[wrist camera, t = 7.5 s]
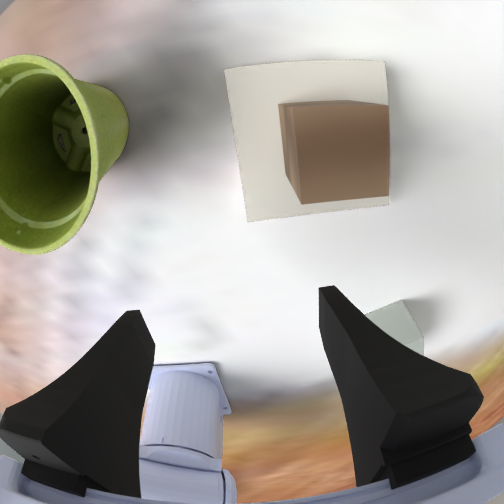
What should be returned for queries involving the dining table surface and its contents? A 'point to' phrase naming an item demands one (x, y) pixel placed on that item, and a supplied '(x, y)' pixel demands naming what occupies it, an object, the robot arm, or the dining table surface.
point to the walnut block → (336, 149)
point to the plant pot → (52, 151)
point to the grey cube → (399, 325)
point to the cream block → (269, 131)
